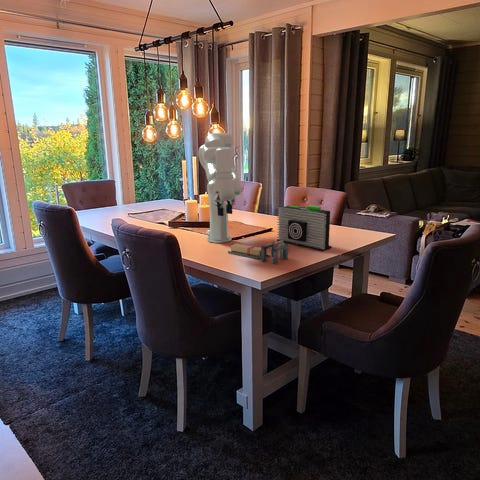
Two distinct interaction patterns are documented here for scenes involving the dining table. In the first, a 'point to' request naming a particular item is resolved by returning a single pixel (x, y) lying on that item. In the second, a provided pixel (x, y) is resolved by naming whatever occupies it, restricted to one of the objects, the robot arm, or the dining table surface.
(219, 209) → the robot arm
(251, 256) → the guide
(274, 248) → the collar rig
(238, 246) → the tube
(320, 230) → the electronic device
